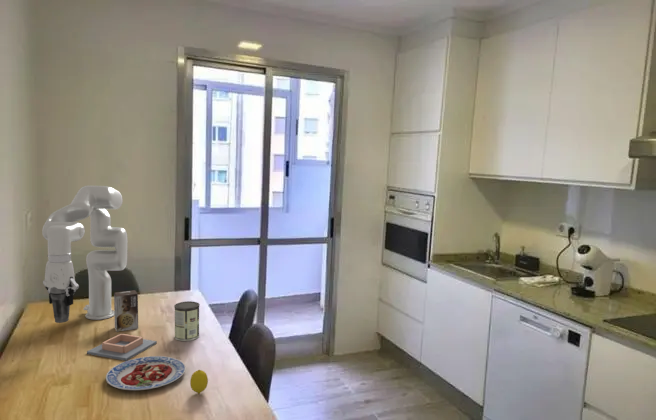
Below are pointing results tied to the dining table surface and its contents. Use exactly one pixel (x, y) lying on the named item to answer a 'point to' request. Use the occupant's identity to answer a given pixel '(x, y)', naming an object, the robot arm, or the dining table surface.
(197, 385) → the lemon
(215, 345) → the dining table surface
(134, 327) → the coffee box
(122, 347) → the collar stand
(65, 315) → the beverage cup
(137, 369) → the ceramic plate
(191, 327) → the coffee can
